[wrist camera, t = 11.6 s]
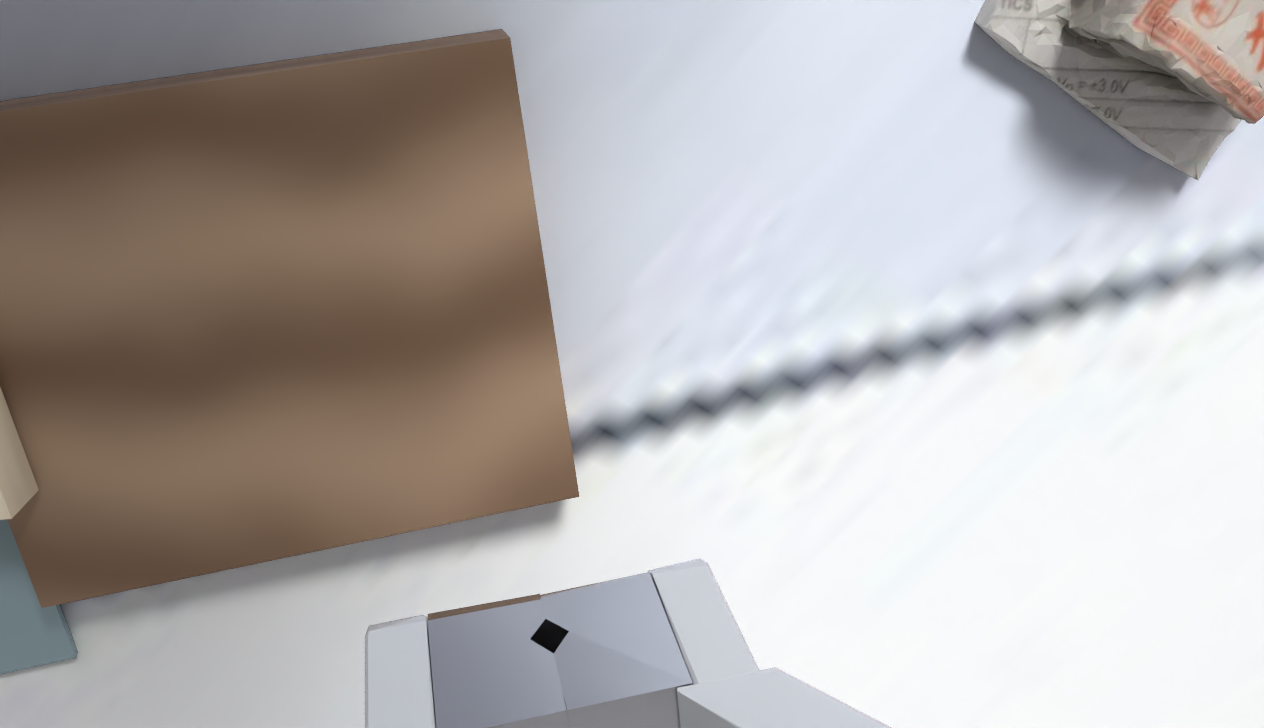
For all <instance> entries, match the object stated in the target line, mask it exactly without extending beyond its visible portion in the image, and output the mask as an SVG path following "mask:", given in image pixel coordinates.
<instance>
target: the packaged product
mask: <svg viewBox="0 0 1264 728" xmlns="http://www.w3.org/2000/svg"><path fill="white" fill-rule="evenodd" d="M974 22H975V23H976V24H977V25H978V26H979V27H980V28H981V29H982V30H983V31H984V32H985V33H987V34H988V35H989V36H990V37H991V38H992V39H993V40H995V41H996V42H997V43H998V44H999V45H1000V46H1001V47H1002V48H1004V49H1005V50H1006V51H1007V52H1008V53H1009V54H1011V55H1012V56H1014V57H1015V58H1017V59H1018V60H1020V61H1021V62H1023V63H1025V64H1026V65H1028V66H1029V67H1031V68H1032V69H1034V70H1035V71H1037V72H1039V73H1040V74H1042V75H1043V76H1045V77H1046V78H1048V79H1050V80H1051V81H1053V82H1054V83H1055V84H1056V85H1057V86H1059V87H1060V88H1061V89H1063V90H1064V91H1065V92H1066V93H1068V94H1069V95H1070V96H1072V97H1073V98H1074V99H1075V100H1077V101H1078V102H1079V103H1080V104H1082V105H1083V106H1084V107H1086V108H1087V109H1088V110H1089V111H1091V112H1092V113H1093V114H1094V115H1096V116H1097V117H1098V118H1100V119H1101V120H1102V121H1104V122H1105V123H1106V124H1107V125H1109V126H1110V127H1111V128H1113V129H1114V130H1115V131H1116V132H1118V133H1119V134H1120V135H1122V136H1123V137H1124V138H1125V139H1127V140H1128V141H1129V142H1131V143H1132V144H1133V145H1134V146H1136V147H1137V148H1139V149H1141V150H1143V151H1145V152H1146V153H1148V154H1150V155H1152V156H1154V157H1156V158H1157V159H1159V160H1161V161H1163V162H1165V163H1167V164H1169V165H1170V166H1172V167H1174V168H1176V169H1178V170H1179V171H1181V172H1183V173H1185V174H1187V175H1189V176H1191V177H1193V178H1194V179H1196V180H1198V179H1199V178H1200V176H1201V174H1202V172H1203V170H1204V169H1205V167H1206V165H1207V163H1208V162H1209V160H1210V159H1211V157H1212V156H1213V154H1214V153H1215V151H1216V150H1217V149H1218V147H1219V146H1220V144H1221V143H1222V141H1223V140H1224V138H1225V137H1226V136H1228V135H1229V134H1230V133H1231V132H1232V131H1234V130H1235V128H1236V127H1237V125H1238V124H1239V122H1240V121H1241V119H1242V120H1245V121H1246V122H1247V123H1256V122H1257V121H1258V120H1260V119H1261V118H1262V117H1263V115H1264V0H985V2H984V4H983V6H982V8H981V10H980V12H979V14H978V16H977V17H976V19H975V21H974Z"/></svg>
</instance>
